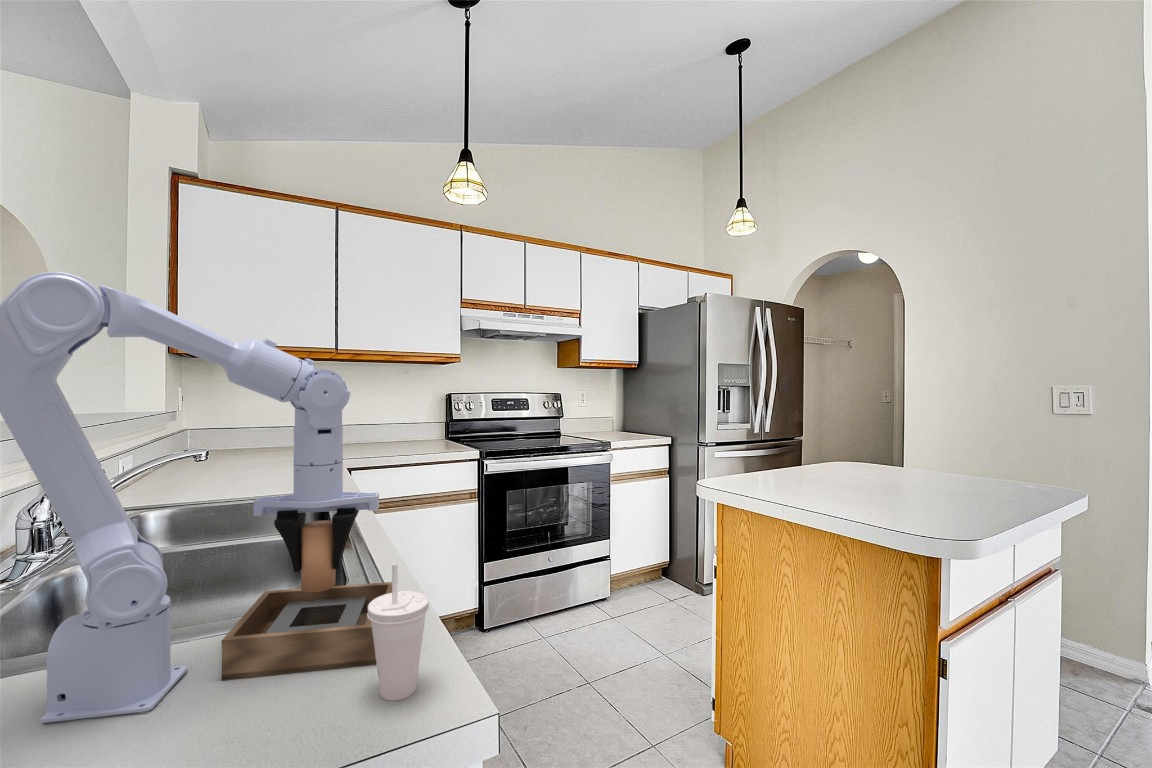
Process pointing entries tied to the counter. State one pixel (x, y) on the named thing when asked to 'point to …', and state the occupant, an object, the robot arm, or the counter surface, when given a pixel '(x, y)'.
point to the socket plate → (321, 614)
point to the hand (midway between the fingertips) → (318, 567)
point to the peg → (317, 556)
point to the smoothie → (397, 638)
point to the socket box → (297, 637)
